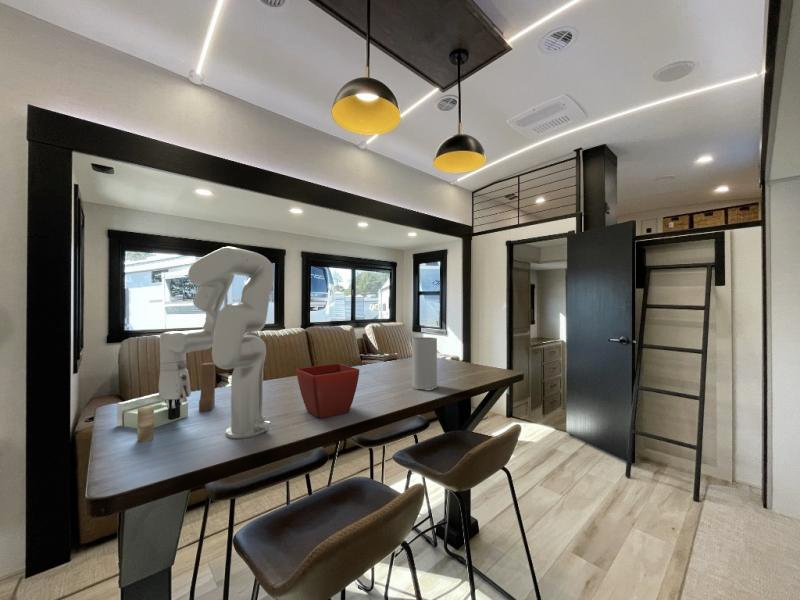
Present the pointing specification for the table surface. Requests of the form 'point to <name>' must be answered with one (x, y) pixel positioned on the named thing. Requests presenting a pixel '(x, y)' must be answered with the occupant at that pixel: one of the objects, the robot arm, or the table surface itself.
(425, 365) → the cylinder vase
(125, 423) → the socket block
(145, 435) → the wooden dowel
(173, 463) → the table surface
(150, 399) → the backstop board
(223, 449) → the table surface
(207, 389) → the wooden block
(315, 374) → the plant pot
